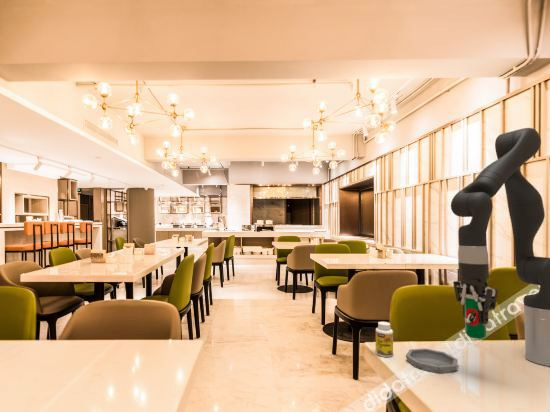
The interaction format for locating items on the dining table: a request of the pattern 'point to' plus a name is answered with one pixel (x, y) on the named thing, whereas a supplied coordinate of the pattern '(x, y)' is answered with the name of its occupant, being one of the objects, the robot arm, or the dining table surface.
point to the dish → (432, 360)
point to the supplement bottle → (384, 339)
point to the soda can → (473, 318)
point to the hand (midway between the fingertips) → (475, 320)
